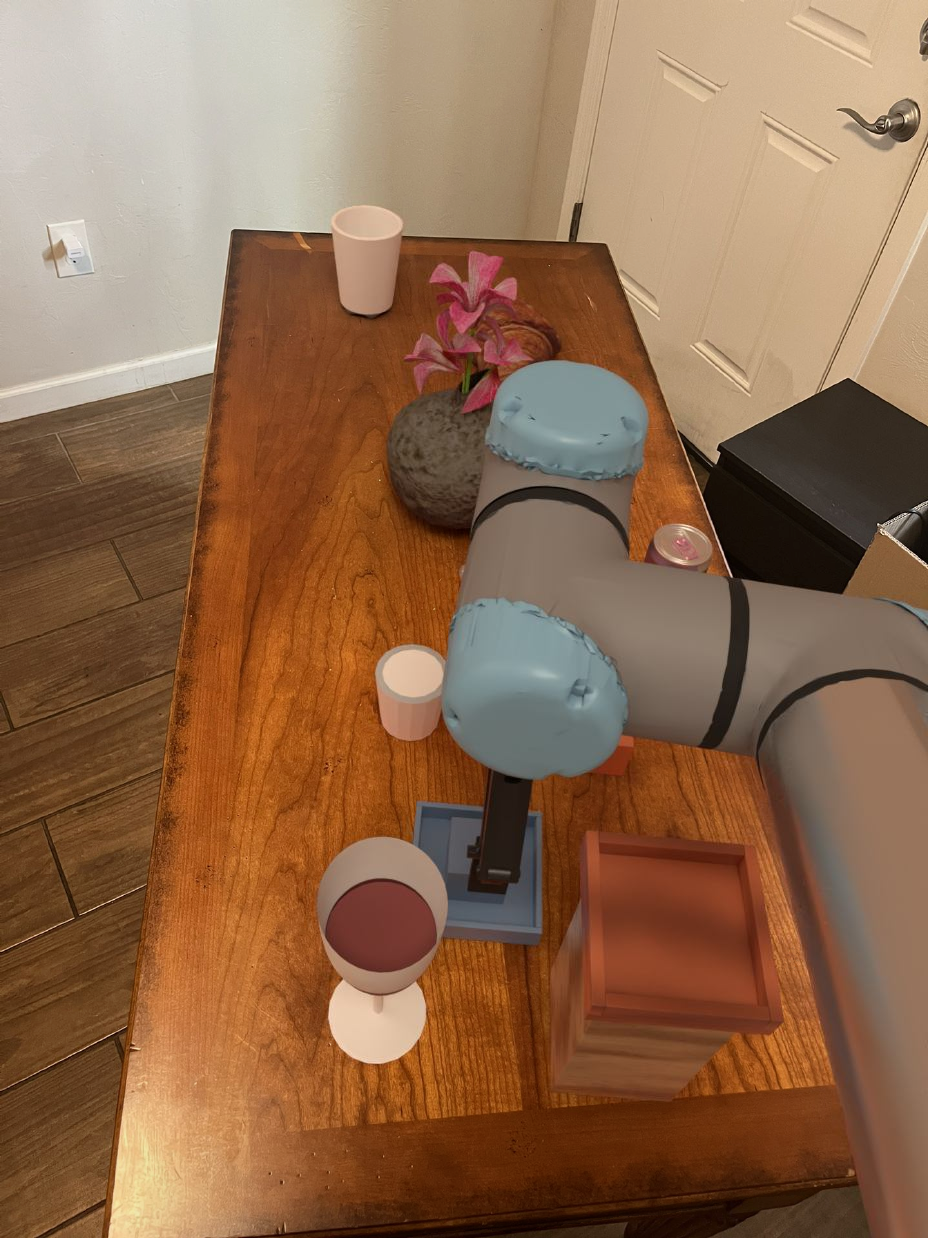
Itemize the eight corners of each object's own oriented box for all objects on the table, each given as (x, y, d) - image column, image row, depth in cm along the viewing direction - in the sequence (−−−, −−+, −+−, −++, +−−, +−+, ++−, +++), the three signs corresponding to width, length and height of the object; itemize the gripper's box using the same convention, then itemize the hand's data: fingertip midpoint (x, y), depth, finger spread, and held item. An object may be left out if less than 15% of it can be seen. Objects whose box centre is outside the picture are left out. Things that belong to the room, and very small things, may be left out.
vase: (369, 469, 114) (372, 230, 91) (504, 449, 119) (538, 218, 96) (407, 566, 104) (420, 325, 81) (553, 541, 108) (604, 306, 86)
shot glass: (429, 756, 88) (433, 713, 83) (362, 731, 89) (362, 687, 84) (455, 702, 92) (461, 657, 87) (391, 679, 94) (393, 633, 88)
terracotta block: (622, 776, 88) (634, 747, 85) (569, 771, 88) (579, 742, 84) (619, 732, 92) (630, 702, 88) (568, 727, 92) (577, 697, 88)
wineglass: (329, 1079, 69) (321, 981, 54) (322, 962, 75) (313, 843, 60) (436, 1064, 70) (457, 964, 55) (421, 950, 76) (437, 830, 61)
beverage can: (636, 673, 97) (673, 572, 85) (608, 631, 100) (639, 529, 89) (685, 658, 99) (727, 557, 87) (655, 617, 102) (692, 515, 91)
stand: (685, 1118, 69) (784, 1021, 53) (537, 1106, 69) (592, 1005, 53) (671, 970, 77) (755, 845, 60) (537, 958, 76) (586, 829, 60)
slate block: (503, 904, 79) (510, 878, 75) (443, 899, 78) (447, 872, 75) (504, 850, 82) (511, 822, 78) (447, 845, 82) (451, 816, 78)
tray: (537, 946, 77) (542, 933, 75) (403, 934, 77) (405, 921, 75) (538, 825, 84) (542, 811, 82) (415, 814, 84) (417, 800, 82)
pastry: (428, 340, 133) (431, 288, 127) (513, 312, 140) (520, 262, 134) (501, 403, 125) (508, 351, 119) (587, 370, 132) (598, 319, 126)
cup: (414, 309, 138) (418, 225, 129) (364, 332, 133) (365, 246, 124) (368, 280, 142) (369, 197, 133) (318, 302, 137) (315, 217, 128)
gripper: (474, 471, 63) (450, 669, 79) (451, 794, 46) (427, 963, 62) (585, 483, 63) (539, 678, 79) (602, 808, 47) (539, 973, 62)
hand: (489, 804), depth 71 cm, fingers open, 13 cm apart
